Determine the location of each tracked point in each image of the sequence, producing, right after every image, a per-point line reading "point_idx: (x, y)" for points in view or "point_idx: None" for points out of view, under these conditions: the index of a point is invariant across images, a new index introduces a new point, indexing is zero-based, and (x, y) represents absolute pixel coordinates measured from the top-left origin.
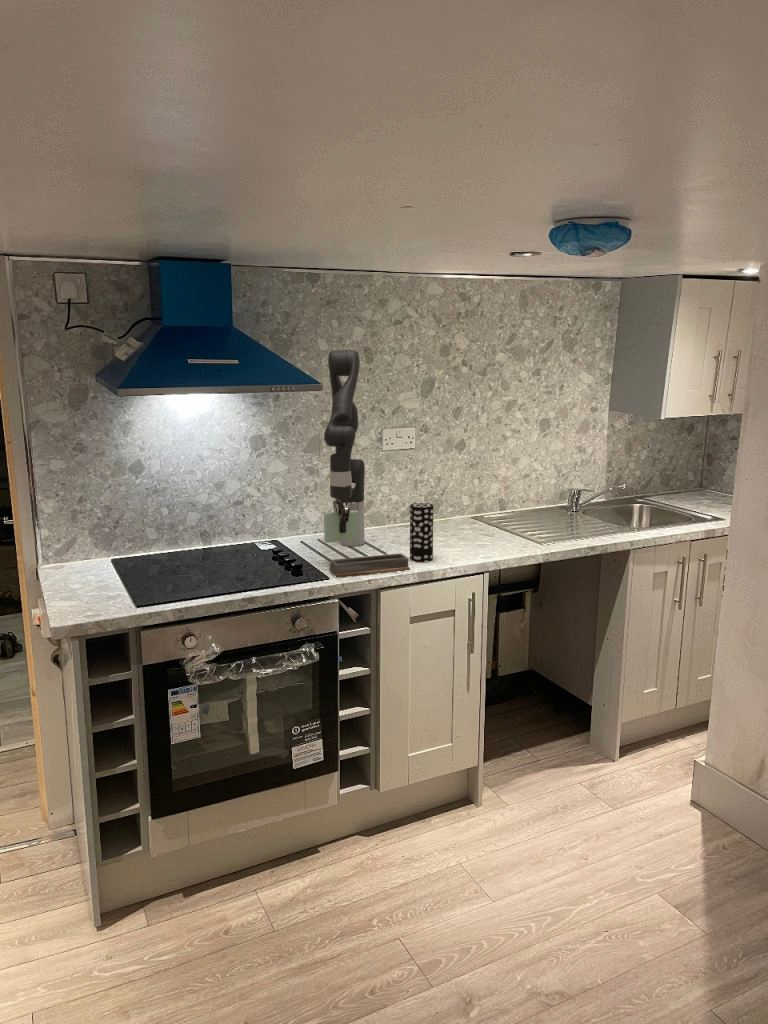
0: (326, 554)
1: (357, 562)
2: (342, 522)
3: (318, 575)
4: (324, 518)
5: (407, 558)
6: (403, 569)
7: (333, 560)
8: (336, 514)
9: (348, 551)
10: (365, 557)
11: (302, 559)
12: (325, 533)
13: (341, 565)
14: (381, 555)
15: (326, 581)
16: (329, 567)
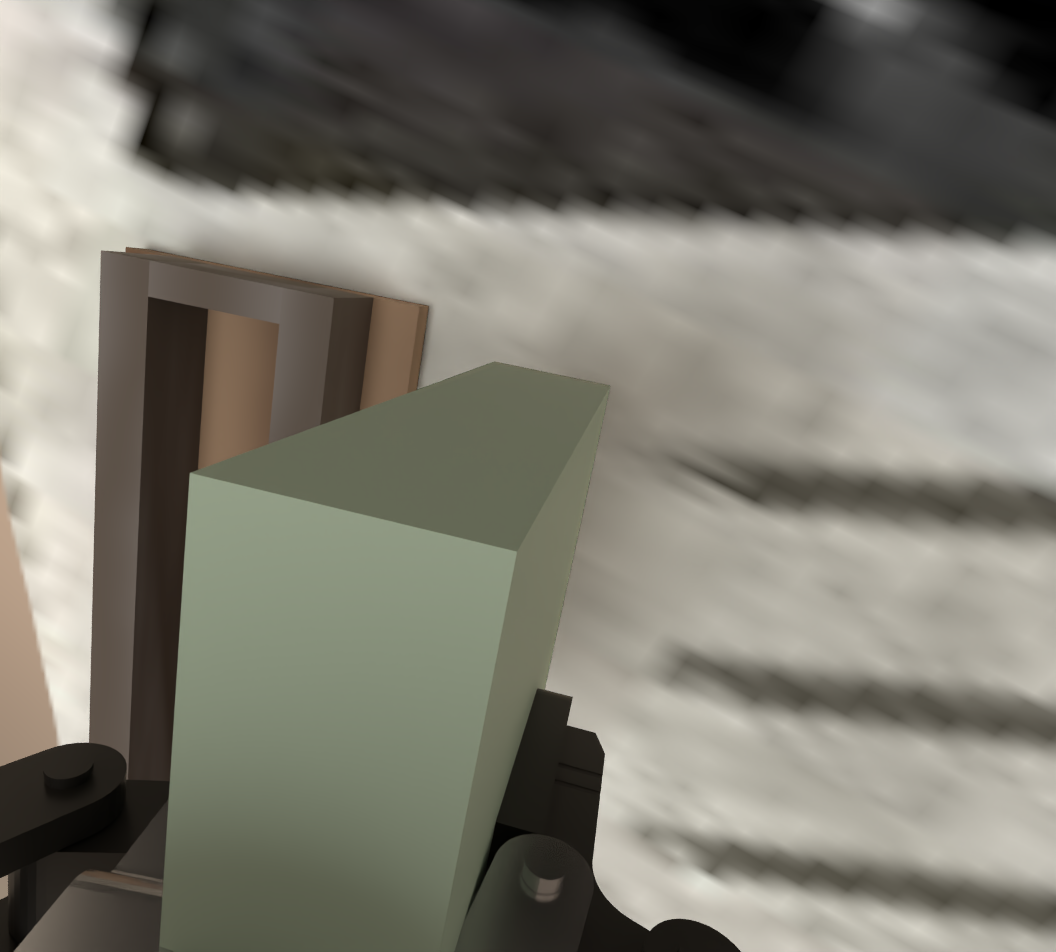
0: (1025, 570)
1: (118, 517)
2: None
3: (300, 113)
4: (465, 468)
5: None
6: None
7: (292, 323)
8: (176, 886)
9: (971, 816)
10: None
11: (1016, 215)
12: (496, 386)
13: (106, 324)
14: None
15: (83, 102)
16: (406, 305)
